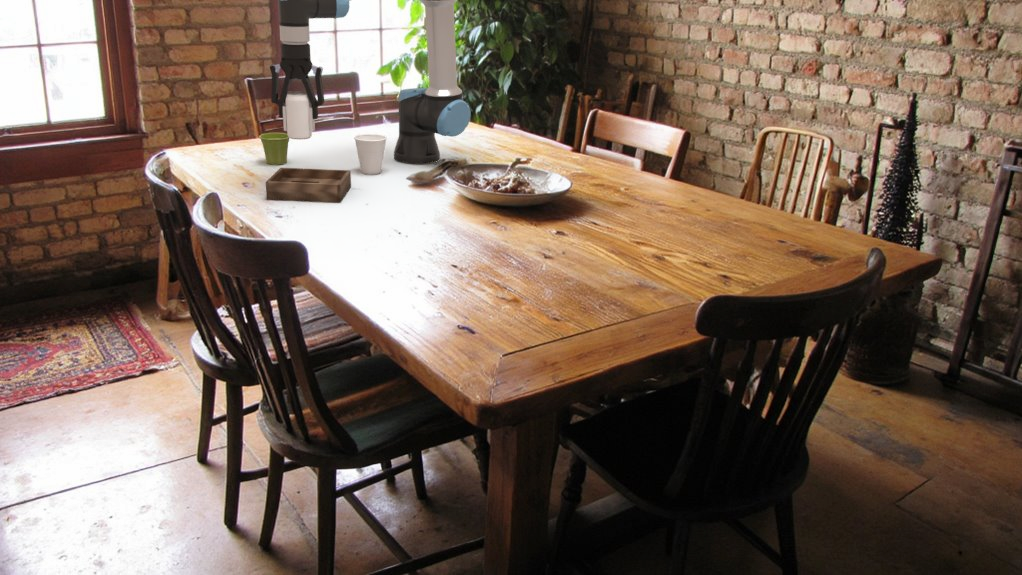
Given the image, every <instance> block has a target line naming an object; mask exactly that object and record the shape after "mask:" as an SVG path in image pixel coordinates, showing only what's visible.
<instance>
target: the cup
mask: <svg viewBox="0 0 1022 575" xmlns="http://www.w3.org/2000/svg"><path fill="white" fill-rule="evenodd" d="M353 139H354V142H355V148H356V150H357V151H356V152H357V156H358V162H359V169H360V172H361V173H362V174H363V175H369V176H371V175H373V176H374V175H378V174H380V173H382V171H383V170H382V169H383V161H384V154H385V150H386V142H387V139H388V137H387V136H386V135H383V134H377V133H361V134H357V135H354V137H353Z"/></svg>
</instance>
